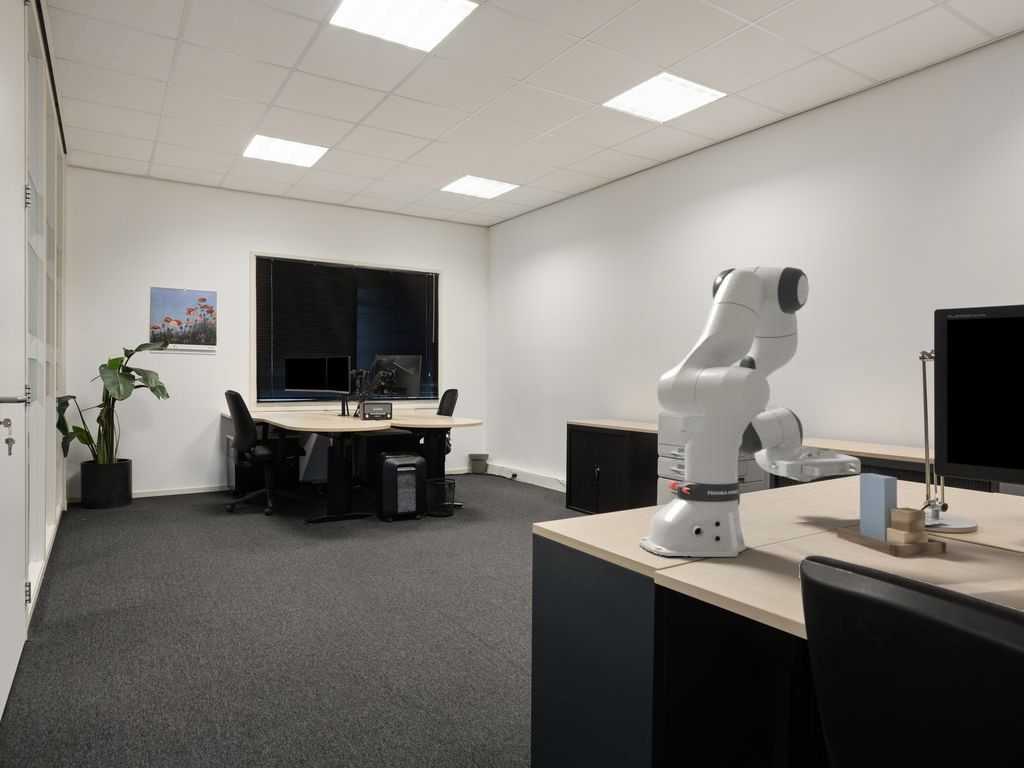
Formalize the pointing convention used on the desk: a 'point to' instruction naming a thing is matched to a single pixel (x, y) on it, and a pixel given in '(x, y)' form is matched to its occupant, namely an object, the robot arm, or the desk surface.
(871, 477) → the blue rectangular block
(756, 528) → the desk surface
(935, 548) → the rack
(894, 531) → the block
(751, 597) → the desk surface
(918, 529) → the offcut top
